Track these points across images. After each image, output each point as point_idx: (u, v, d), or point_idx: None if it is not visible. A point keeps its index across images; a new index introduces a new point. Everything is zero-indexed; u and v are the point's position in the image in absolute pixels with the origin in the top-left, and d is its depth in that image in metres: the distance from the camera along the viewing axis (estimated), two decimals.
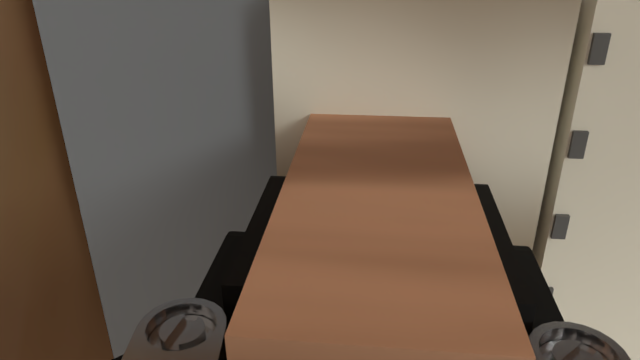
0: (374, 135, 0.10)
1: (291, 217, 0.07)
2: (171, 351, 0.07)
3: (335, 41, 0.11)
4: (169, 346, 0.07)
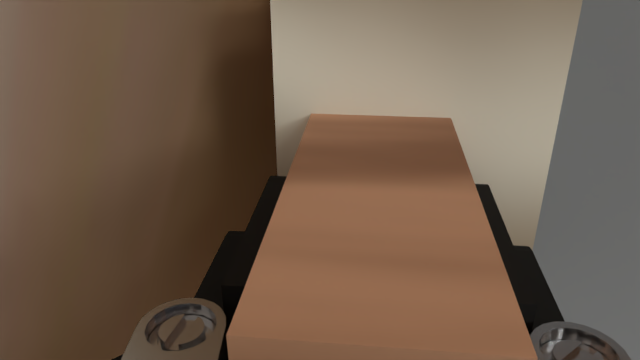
0: (376, 135, 0.10)
1: (292, 217, 0.07)
2: (171, 351, 0.07)
3: (336, 41, 0.11)
4: (169, 346, 0.07)
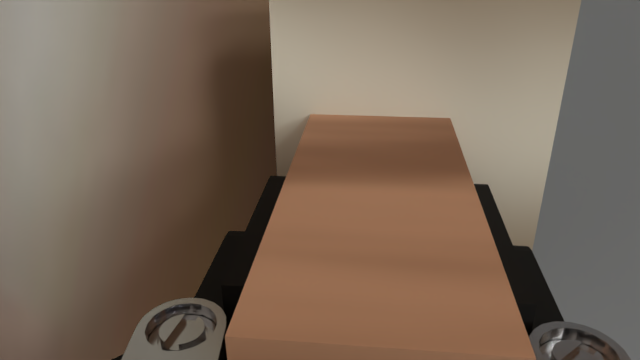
0: (374, 136, 0.10)
1: (291, 218, 0.07)
2: (171, 351, 0.07)
3: (335, 42, 0.11)
4: (169, 346, 0.07)
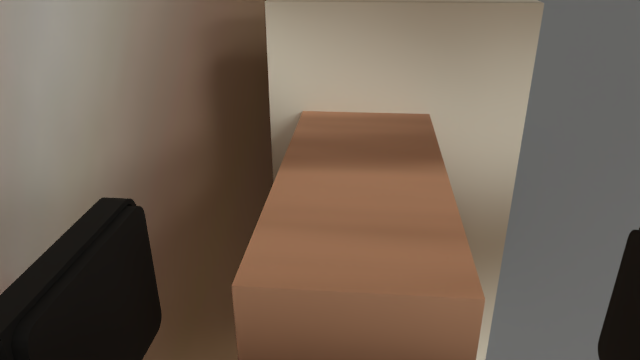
0: (361, 129, 0.12)
1: (286, 196, 0.09)
2: None
3: (325, 45, 0.12)
4: None
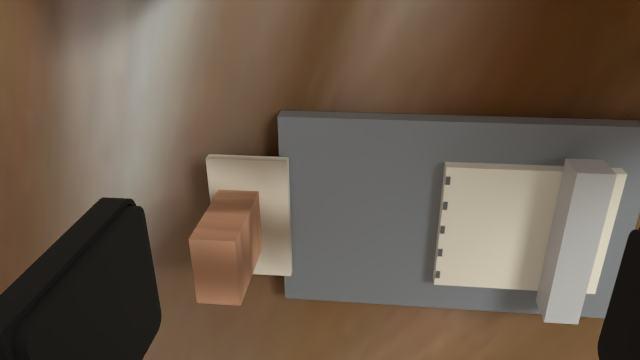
0: (233, 197, 0.38)
1: (204, 220, 0.35)
2: None
3: (224, 170, 0.39)
4: None
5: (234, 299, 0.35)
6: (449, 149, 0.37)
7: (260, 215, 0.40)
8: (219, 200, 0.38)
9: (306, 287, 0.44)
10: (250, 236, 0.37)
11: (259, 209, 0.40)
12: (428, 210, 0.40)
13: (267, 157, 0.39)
